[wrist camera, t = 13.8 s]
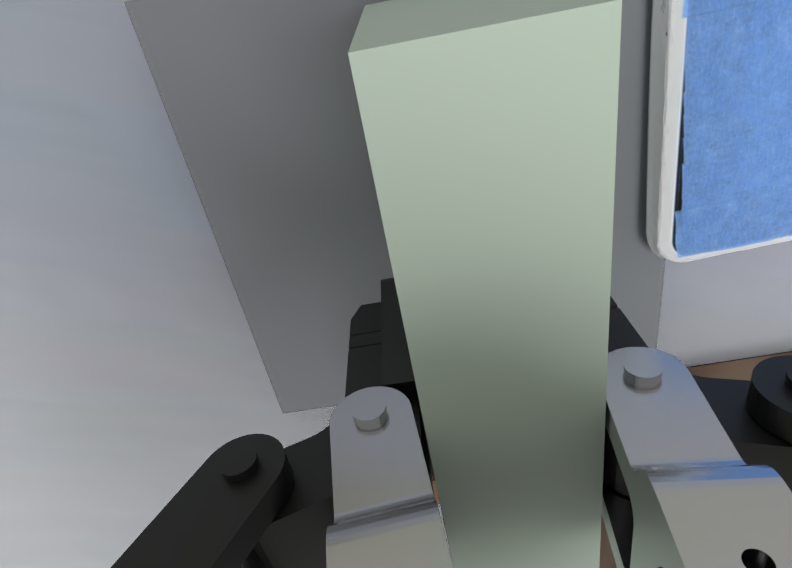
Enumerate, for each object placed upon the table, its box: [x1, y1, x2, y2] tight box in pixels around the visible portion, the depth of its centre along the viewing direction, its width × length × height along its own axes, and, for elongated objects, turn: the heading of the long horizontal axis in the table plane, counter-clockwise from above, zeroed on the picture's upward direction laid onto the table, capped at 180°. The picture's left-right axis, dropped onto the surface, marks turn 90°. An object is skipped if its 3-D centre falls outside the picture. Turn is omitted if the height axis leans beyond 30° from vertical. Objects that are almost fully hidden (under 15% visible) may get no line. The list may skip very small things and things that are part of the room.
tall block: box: [348, 0, 622, 568], centre depth 11 cm, size 2×12×9 cm, turn 10°
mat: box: [124, 0, 665, 413], centre depth 16 cm, size 14×14×1 cm
